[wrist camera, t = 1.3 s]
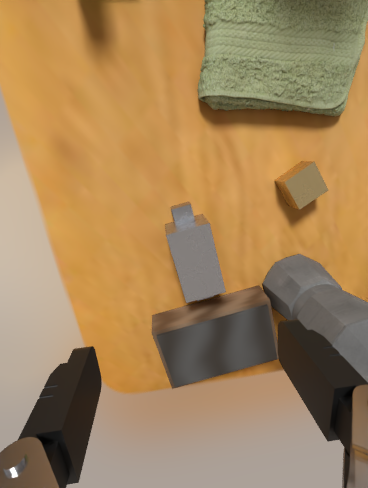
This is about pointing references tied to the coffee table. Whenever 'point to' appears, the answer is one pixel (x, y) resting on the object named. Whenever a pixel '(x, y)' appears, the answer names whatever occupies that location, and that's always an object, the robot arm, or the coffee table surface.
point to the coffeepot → (320, 306)
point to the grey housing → (194, 254)
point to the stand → (216, 336)
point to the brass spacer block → (301, 184)
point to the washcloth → (281, 54)
